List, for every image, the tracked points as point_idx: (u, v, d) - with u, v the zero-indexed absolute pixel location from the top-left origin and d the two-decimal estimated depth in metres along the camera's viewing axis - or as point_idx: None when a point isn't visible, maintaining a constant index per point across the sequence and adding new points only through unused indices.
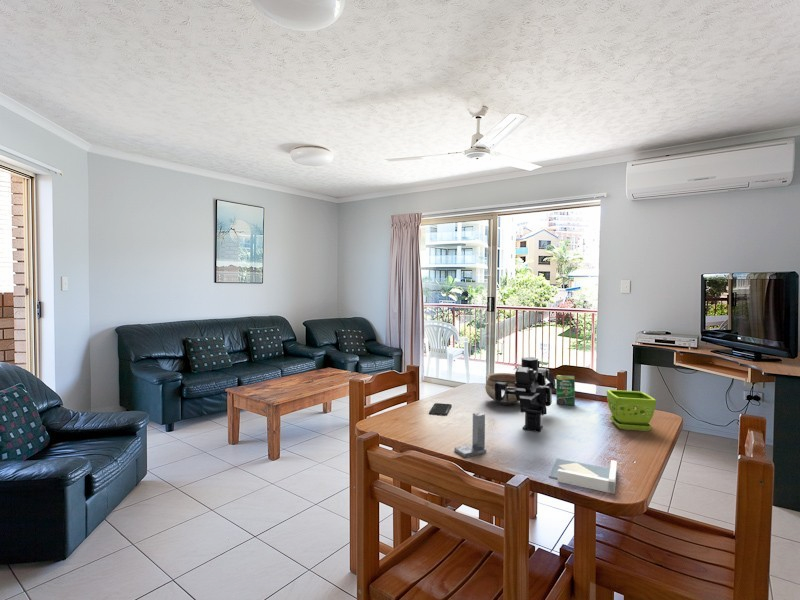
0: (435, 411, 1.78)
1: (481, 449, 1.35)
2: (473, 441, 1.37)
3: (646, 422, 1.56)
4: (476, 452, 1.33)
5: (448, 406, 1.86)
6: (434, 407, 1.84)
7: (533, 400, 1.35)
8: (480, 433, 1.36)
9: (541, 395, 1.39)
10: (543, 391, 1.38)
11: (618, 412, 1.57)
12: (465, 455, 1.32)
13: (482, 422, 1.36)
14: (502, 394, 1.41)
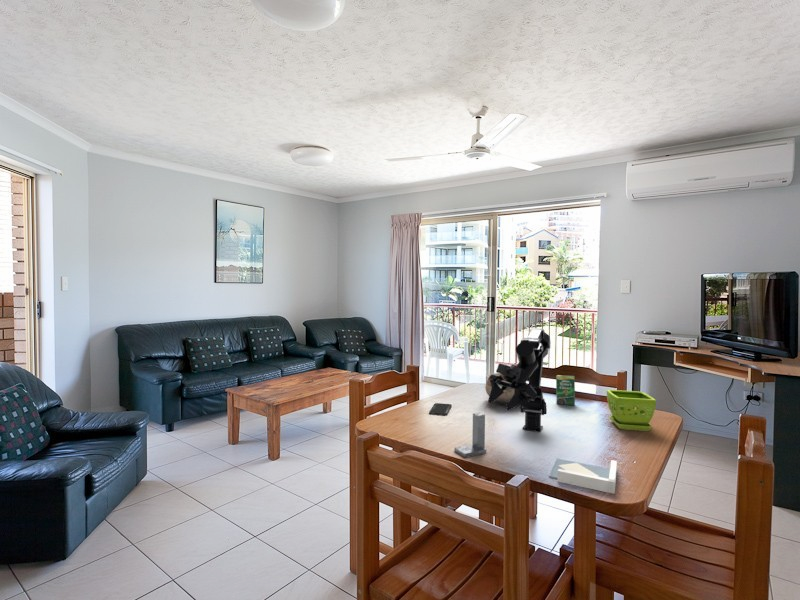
0: (435, 411, 1.78)
1: (481, 449, 1.35)
2: (473, 441, 1.37)
3: (646, 422, 1.56)
4: (476, 452, 1.33)
5: (448, 406, 1.86)
6: (434, 407, 1.84)
7: (510, 406, 1.36)
8: (480, 433, 1.36)
9: (521, 394, 1.36)
10: (520, 392, 1.35)
11: (618, 412, 1.57)
12: (465, 455, 1.32)
13: (482, 422, 1.36)
14: (490, 396, 1.45)
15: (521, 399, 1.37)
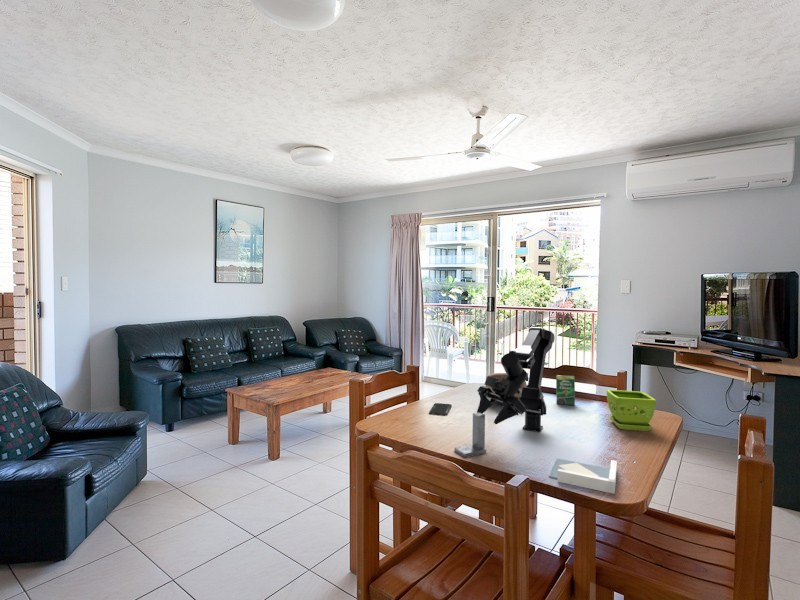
0: (435, 411, 1.78)
1: (481, 449, 1.35)
2: (473, 441, 1.37)
3: (646, 422, 1.56)
4: (476, 452, 1.33)
5: (448, 406, 1.86)
6: (434, 407, 1.84)
7: (498, 419, 1.34)
8: (480, 433, 1.36)
9: (509, 408, 1.34)
10: (508, 406, 1.33)
11: (618, 412, 1.57)
12: (465, 455, 1.32)
13: (482, 422, 1.36)
14: (478, 409, 1.43)
15: (509, 413, 1.35)
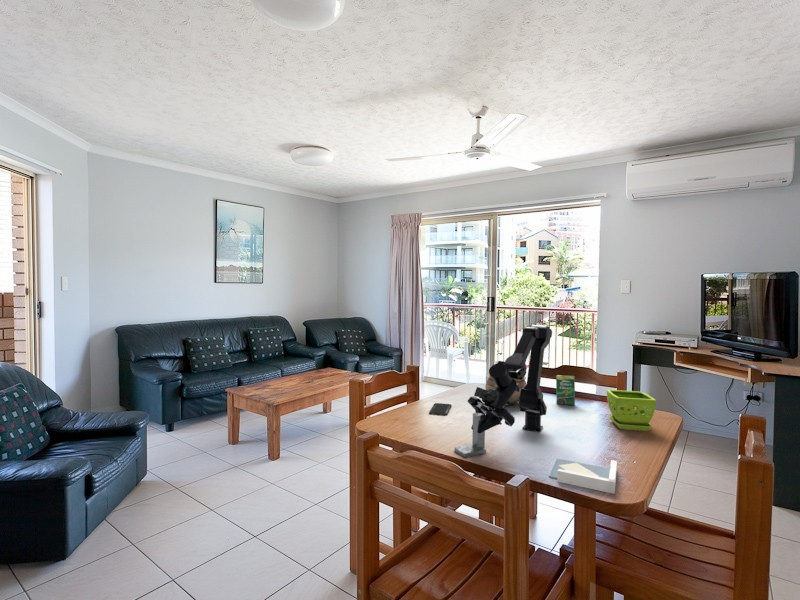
0: (435, 411, 1.78)
1: (481, 449, 1.35)
2: (473, 441, 1.37)
3: (646, 422, 1.56)
4: (476, 452, 1.33)
5: (448, 406, 1.86)
6: (434, 407, 1.84)
7: (482, 429, 1.35)
8: (480, 433, 1.36)
9: (492, 417, 1.35)
10: (491, 415, 1.34)
11: (618, 412, 1.57)
12: (465, 455, 1.32)
13: None
14: None
15: (493, 422, 1.36)
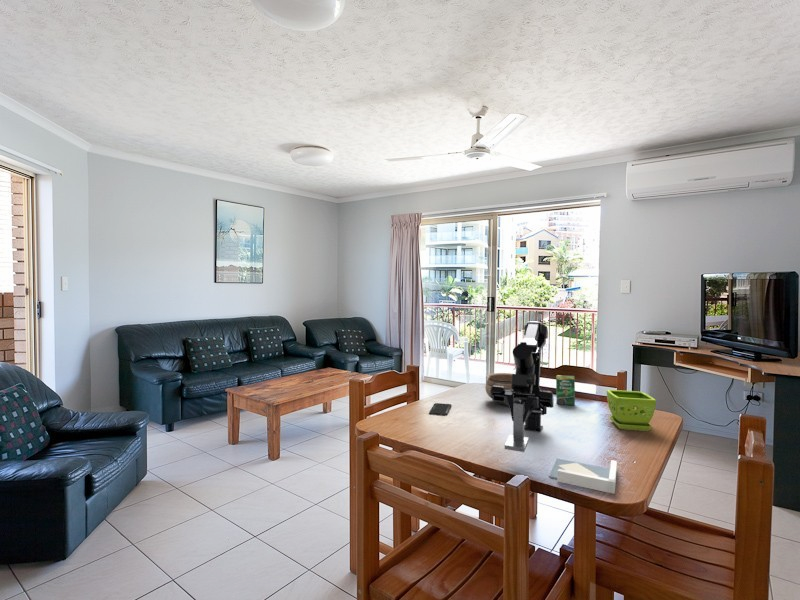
0: (435, 411, 1.78)
1: (525, 438, 1.27)
2: (515, 432, 1.27)
3: (646, 422, 1.56)
4: (526, 443, 1.25)
5: (448, 406, 1.86)
6: (434, 407, 1.84)
7: (526, 417, 1.27)
8: None
9: (533, 402, 1.29)
10: (535, 400, 1.27)
11: (618, 412, 1.57)
12: (524, 449, 1.21)
13: (523, 410, 1.28)
14: (512, 413, 1.28)
15: (531, 407, 1.30)
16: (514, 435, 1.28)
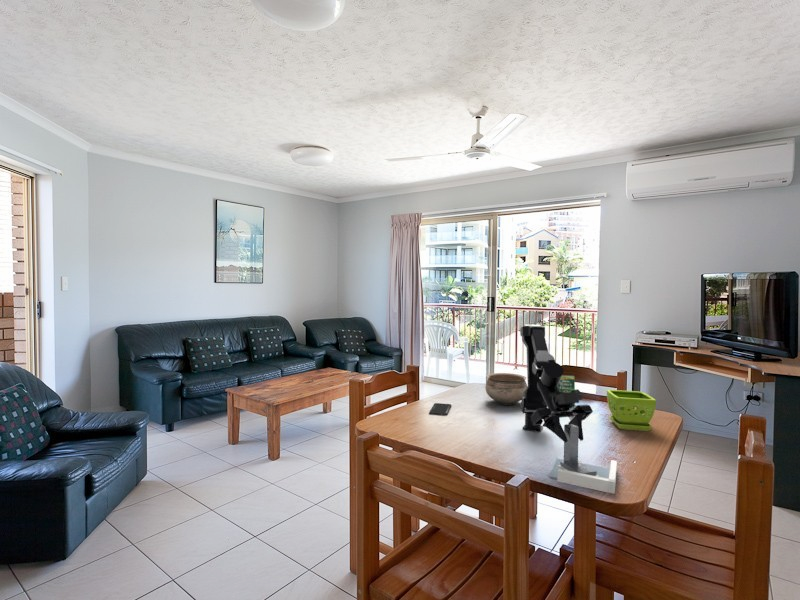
0: (435, 411, 1.78)
1: (578, 461, 1.25)
2: (571, 458, 1.23)
3: (646, 422, 1.56)
4: None
5: (448, 406, 1.86)
6: (434, 407, 1.84)
7: None
8: None
9: None
10: (583, 416, 1.27)
11: (618, 412, 1.57)
12: None
13: None
14: (563, 434, 1.23)
15: None
16: (570, 461, 1.23)
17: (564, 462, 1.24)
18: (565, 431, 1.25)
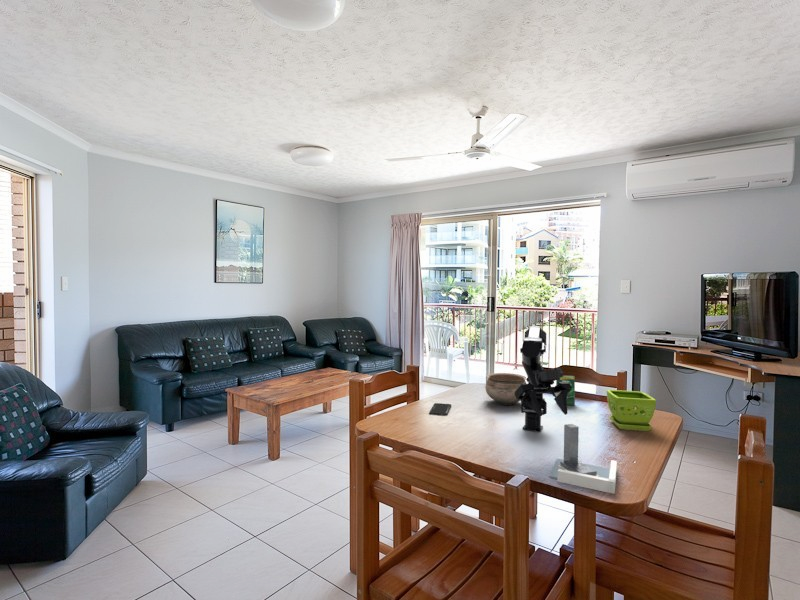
0: (435, 411, 1.78)
1: (578, 461, 1.25)
2: (571, 458, 1.23)
3: (646, 422, 1.56)
4: None
5: (448, 406, 1.86)
6: (434, 407, 1.84)
7: None
8: None
9: None
10: (568, 392, 1.37)
11: (618, 412, 1.57)
12: None
13: None
14: (539, 408, 1.31)
15: None
16: (570, 461, 1.23)
17: (564, 462, 1.24)
18: (565, 431, 1.25)
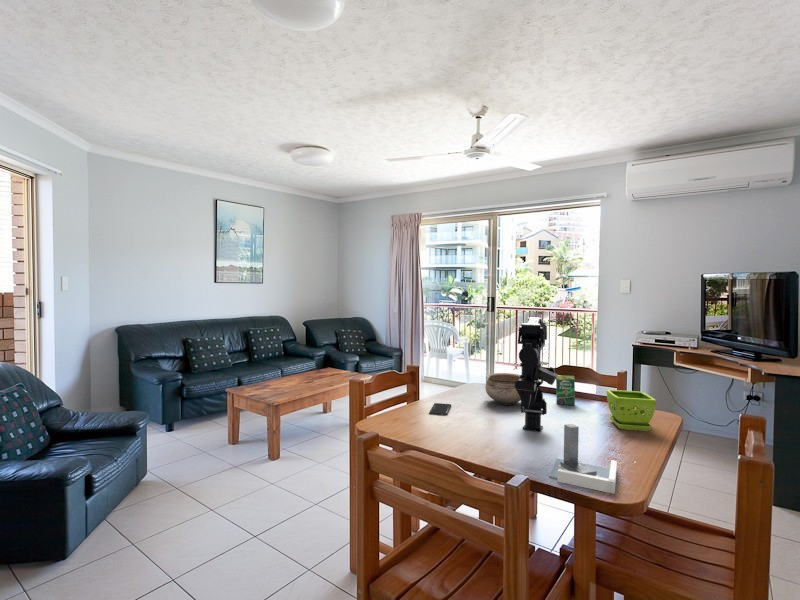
0: (435, 411, 1.78)
1: (578, 461, 1.25)
2: (571, 458, 1.23)
3: (646, 422, 1.56)
4: None
5: (448, 406, 1.86)
6: (434, 407, 1.84)
7: None
8: None
9: None
10: None
11: (618, 412, 1.57)
12: None
13: None
14: (529, 403, 1.39)
15: None
16: (570, 461, 1.23)
17: (564, 462, 1.24)
18: (565, 431, 1.25)
